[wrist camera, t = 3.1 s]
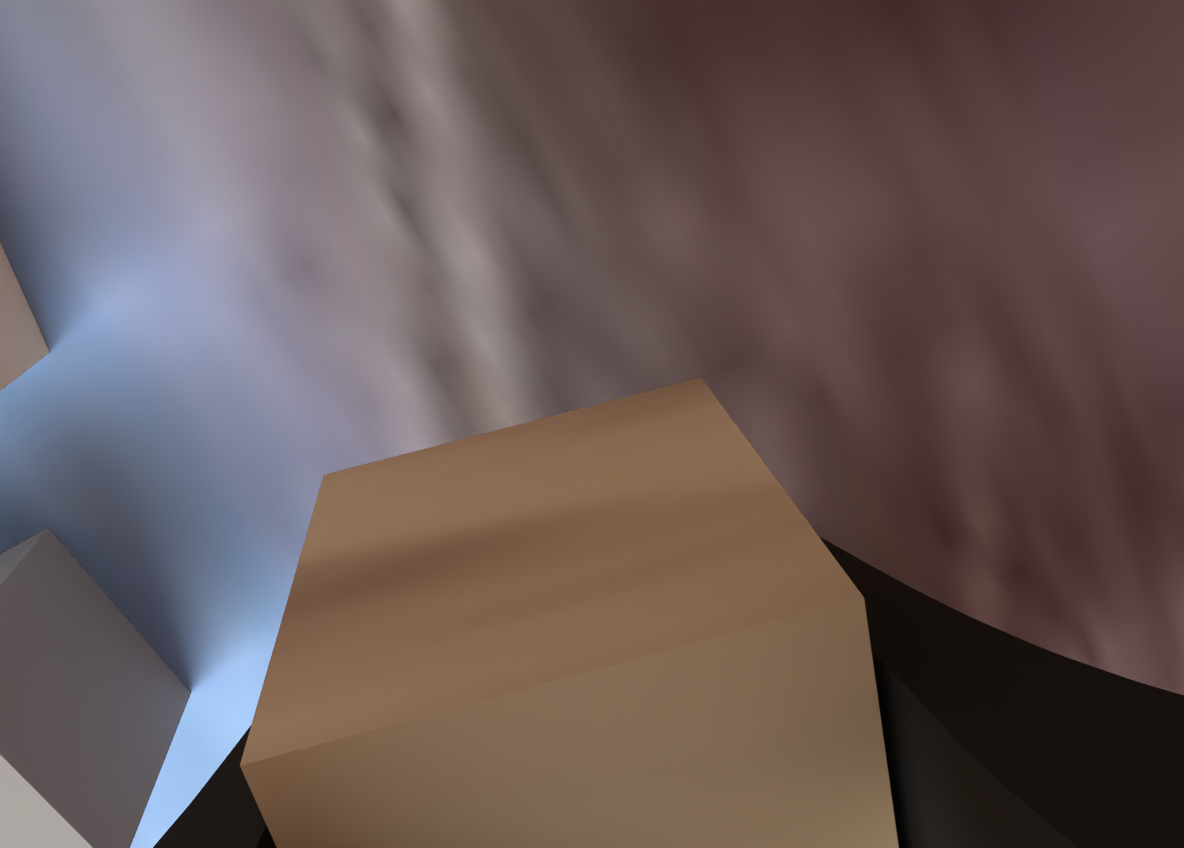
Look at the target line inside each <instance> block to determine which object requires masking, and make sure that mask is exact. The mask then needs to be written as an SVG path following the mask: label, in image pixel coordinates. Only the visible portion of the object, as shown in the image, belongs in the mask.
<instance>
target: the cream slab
mask: <svg viewBox="0 0 1184 848" xmlns="http://www.w3.org/2000/svg"><path fill="white" fill-rule="evenodd" d="M48 353H50V351H49V349H48V347H47V345H46V342H45V340H44V338H43V336H42V334H41V331H40V329H39V327H38V325H37V323H36V320H35V318H34V316H33V314H32V312H31V309H30V307H29V305H28V303H27V300H26V298H25V296H24V294H23V292H22V289H21V287H20V285H19V283H18V281H17V278H16V276H15V274H14V272H13V270H12V267H11V265H10V263H9V261H8V258H7V256H6V254H5V252H4V250H3V247H2V245H1V243H0V391H1V390H2V389H3V388H5V387H6V386H7V385H9V384H10V383H11V382H12V381H14V380H15V379H16V378H18V377H19V376H20V375H21V374H23V373H24V372H25V371H27V370H28V369H29V368H30V367H32V366H33V365H34V364H36V363H37V362H38V361H39V360H41V359H42V358H43V357H45V356H46V355H47V354H48Z"/></svg>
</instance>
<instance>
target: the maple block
mask: <svg viewBox="0 0 1184 848" xmlns="http://www.w3.org/2000/svg"><path fill="white" fill-rule="evenodd" d="M240 767H241V769H242V772H243V774H244V776H245V778H246V780H247V783H248V785H249V787H250V789H251V792H252V794H253V796H254V798H255V800H256V803H257V805H258V807H259V809H260V812H261V814H262V816H263V818H264V820H265V823H266V825H267V827H268V829H269V832H270V834H271V836H272V838H273V841H274V843H275V845H276V847H277V848H899V846H898V839H897V832H896V824H895V817H894V810H893V803H892V795H891V788H890V781H889V774H888V767H887V759H886V752H885V745H884V738H883V731H882V723H881V716H880V709H879V702H878V695H877V687H876V680H875V673H874V666H873V659H872V651H871V644H870V637H869V630H868V623H867V615H866V608H865V601H864V597H863V596H862V594H861V593H860V592H859V590H858V589H857V588H856V586H855V585H854V584H853V582H852V581H851V579H850V578H849V577H848V575H847V574H846V573H845V571H844V570H843V569H842V567H841V566H840V565H839V563H838V562H837V561H836V559H835V558H834V557H833V555H832V554H831V552H830V551H829V550H828V548H827V547H826V546H825V544H824V543H823V542H822V540H821V539H820V538H819V536H818V535H817V534H816V532H815V531H814V529H813V528H812V527H811V525H810V524H809V523H808V521H807V520H806V519H805V517H804V516H803V515H802V513H801V512H800V511H799V509H798V508H797V507H796V505H795V504H794V502H793V501H792V500H791V498H790V497H789V496H788V494H787V493H786V492H785V490H784V489H783V488H782V486H781V485H780V484H779V482H778V481H777V479H776V478H775V477H774V475H773V474H772V473H771V471H770V470H769V469H768V467H767V466H766V465H765V463H764V462H763V461H762V459H761V458H760V457H759V455H758V454H757V452H756V451H755V450H754V448H753V447H752V446H751V444H750V443H749V442H748V440H747V439H746V438H745V436H744V435H743V434H742V432H741V431H740V429H739V428H738V427H737V425H736V424H735V423H734V421H733V420H732V419H731V417H730V416H729V415H728V413H727V412H726V411H725V409H724V408H723V407H722V405H721V404H720V402H719V401H718V400H717V398H716V397H715V396H714V394H713V393H712V392H711V390H710V389H709V388H708V386H707V385H706V384H705V382H704V381H703V379H702V378H698V379H694V380H691V381H687V382H683V383H679V384H675V385H671V386H667V387H663V388H660V389H656V390H652V391H648V392H644V393H640V394H636V395H632V396H628V397H625V398H621V399H617V400H613V401H609V402H605V403H601V404H597V405H594V406H590V407H586V408H582V409H578V410H574V411H570V412H566V413H562V414H559V415H555V416H551V417H547V418H543V419H539V420H535V421H531V422H528V423H524V424H520V425H516V426H512V427H508V428H504V429H500V430H497V431H493V432H489V433H485V434H481V435H477V436H473V437H469V438H465V439H462V440H458V441H454V442H450V443H446V444H442V445H438V446H434V447H431V448H427V449H423V450H419V451H415V452H411V453H407V454H403V455H399V456H396V457H392V458H388V459H384V460H380V461H376V462H372V463H368V464H365V465H361V466H357V467H353V468H349V469H345V470H341V471H337V472H333V473H330V474H326V475H324V476H323V480H322V483H321V487H320V490H319V494H318V497H317V500H316V504H315V507H314V511H313V514H312V518H311V521H310V525H309V528H308V532H307V535H306V538H305V542H304V545H303V549H302V552H301V556H300V559H299V563H298V566H297V570H296V573H295V576H294V580H293V583H292V587H291V590H290V594H289V597H288V601H287V604H286V608H285V611H284V614H283V618H282V621H281V625H280V628H279V632H278V635H277V639H276V642H275V646H274V649H273V652H272V656H271V659H270V663H269V666H268V670H267V673H266V677H265V680H264V684H263V687H262V691H261V694H260V697H259V701H258V704H257V708H256V711H255V715H254V718H253V722H252V725H251V729H250V732H249V735H248V739H247V742H246V746H245V749H244V753H243V756H242V760H241V763H240Z"/></svg>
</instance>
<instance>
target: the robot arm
mask: <svg viewBox="0 0 1184 848" xmlns="http://www.w3.org/2000/svg"><path fill="white" fill-rule="evenodd" d="M819 538H820V537H819ZM820 539H821V540H822V542H823V543H824V544H825V546H826V547H827V548H828V550H829V551H830V552H831V554H832V555H833V557H834V558H835V559H836V561H837V562H838V563H839V565H840V566H841V567H842V569H843V570H844V571H845V573H846V574H847V575H848V577H849V578H850V579H851V581H852V582H853V584H854V585H855V586H856V588H857V589H858V590H859V592H860V593H861V594H862V596H863V597H864V601H865V608H866V615H867V623H868V630H869V637H870V644H871V651H872V659H873V666H874V673H875V680H876V687H877V695H878V702H879V709H880V716H881V723H882V731H883V738H884V745H885V752H886V759H887V767H888V774H889V781H890V788H891V795H892V803H893V810H894V817H895V824H896V832H897V839H898V846H899V848H1184V695H1180V694H1176V693H1173V692H1169V691H1166V690H1163V689H1159V688H1156V687H1153V686H1149V685H1146V684H1143V683H1139V682H1136V681H1133V680H1130V679H1127V678H1124V677H1121V676H1118V675H1116V674H1113V673H1110V672H1107V671H1104V670H1101V669H1098V668H1095V667H1092V666H1090V665H1087V664H1084V663H1081V662H1078V661H1075V660H1072V659H1069V658H1066V657H1064V656H1061V655H1059V654H1056V653H1053V652H1051V651H1048V650H1046V649H1043V648H1041V647H1038V646H1036V645H1033V644H1031V643H1028V642H1026V641H1024V640H1021V639H1019V638H1017V637H1014V636H1012V635H1010V634H1008V633H1005V632H1003V631H1001V630H998V629H996V628H994V627H991V626H989V625H987V624H985V623H982V622H980V621H978V620H976V619H974V618H971V617H969V616H967V615H965V614H963V613H961V612H959V611H957V610H955V609H953V608H950V607H948V606H946V605H944V604H942V603H940V602H938V601H936V600H934V599H932V598H930V597H928V596H927V595H925V594H923V593H921V592H919V591H917V590H915V589H913V588H911V587H909V586H907V585H905V584H904V583H902V582H900V581H898V580H896V579H894V578H892V577H890V576H889V575H887V574H885V573H883V572H881V571H880V570H878V569H876V568H874V567H872V566H871V565H869V564H867V563H865V562H863V561H862V560H860V559H858V558H856V557H854V556H853V555H851V554H849V553H847V552H846V551H844V550H842V549H840V548H839V547H837V546H835V545H833V544H831V543H830V542H828V541H826V540H824V539H822V538H820ZM250 729H251V726H250V727H249V729H248V730H247V731H246V733H245V734H244V735H243V737H242V738H241V739H240V741H239V742H238V743H237V745H236V746H235V747H234V748H233V750H232V751H231V752H230V754H229V755H228V756H227V757H226V759H225V760H224V761H223V763H222V764H221V765H220V766H219V768H218V769H217V770H216V772H215V773H214V774H213V775H212V777H211V778H210V779H209V781H208V782H207V783H206V784H205V786H204V787H203V788H202V790H201V791H200V792H199V793H198V795H197V796H196V797H195V799H194V800H193V801H192V802H191V803H190V805H189V806H188V807H187V808H186V809H185V811H184V812H183V813H182V814H181V815H180V817H179V818H178V819H177V820H176V821H175V822H174V824H173V825H172V826H171V827H170V828H169V829H168V831H167V832H166V833H165V834H164V835H163V836H162V838H161V839H160V840H159V841H158V842H157V844H156V845H155V846H154V847H153V848H277V847H276V845H275V843H274V841H273V838H272V836H271V834H270V832H269V829H268V827H267V825H266V823H265V820H264V818H263V816H262V814H261V812H260V809H259V807H258V805H257V803H256V800H255V798H254V796H253V794H252V792H251V789H250V787H249V785H248V783H247V780H246V778H245V776H244V774H243V772H242V769H241V767H240V763H241V760H242V756H243V753H244V749H245V746H246V742H247V739H248V735H249V732H250Z"/></svg>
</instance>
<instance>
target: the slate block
mask: <svg viewBox="0 0 1184 848" xmlns="http://www.w3.org/2000/svg"><path fill="white" fill-rule="evenodd" d="M190 694H191V692H190V691H189V690H188V688H187V687H186V686H185V685H184V684H183V683H182V681H181V680H180V679H179V678H178V677H177V676H176V674H175V673H174V672H173V671H172V670H171V669H170V668H169V666H168V665H167V664H166V663H165V662H164V661H163V659H162V658H161V657H160V656H159V655H158V654H157V652H156V651H155V650H154V649H153V648H152V647H151V646H150V644H149V643H148V642H147V641H146V640H145V639H144V637H143V636H142V635H141V634H140V633H139V632H138V631H137V629H136V628H135V627H134V626H133V625H132V624H131V622H130V621H129V620H128V619H127V618H126V617H125V615H124V614H123V613H122V612H121V611H120V610H119V609H118V607H117V606H116V605H115V604H114V603H113V602H112V600H111V599H110V598H109V597H108V596H107V595H106V593H105V592H104V591H103V590H102V589H101V588H100V587H99V585H98V584H97V583H96V582H95V581H94V580H93V578H92V577H91V576H90V575H89V574H88V573H87V571H86V570H85V569H84V568H83V567H82V566H81V565H80V563H79V562H78V561H77V560H76V559H75V558H74V556H73V555H72V554H71V553H70V552H69V551H68V550H67V548H66V547H65V546H64V545H63V544H62V543H61V541H60V540H59V539H58V538H57V537H56V536H55V534H54V533H53V532H52V531H51V530H50V529H49V528H46V529H44V530H42V531H41V532H39V533H37V534H35V535H33V536H32V537H30V538H28V539H26V540H24V541H23V542H21V543H19V544H17V545H15V546H14V547H12V548H10V549H8V550H6V551H5V552H3V553H1V554H0V848H130V846H131V843H132V841H133V838H134V836H135V833H136V831H137V828H138V826H139V823H140V821H141V818H142V816H143V813H144V811H145V808H146V805H147V803H148V800H149V798H150V795H151V793H152V790H153V788H154V785H155V783H156V780H157V778H158V775H159V773H160V770H161V767H162V765H163V762H164V760H165V757H166V755H167V752H168V750H169V747H170V745H171V742H172V740H173V737H174V735H175V732H176V729H177V727H178V724H179V722H180V719H181V717H182V714H183V712H184V709H185V707H186V704H187V702H188V699H189V697H190Z"/></svg>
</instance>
